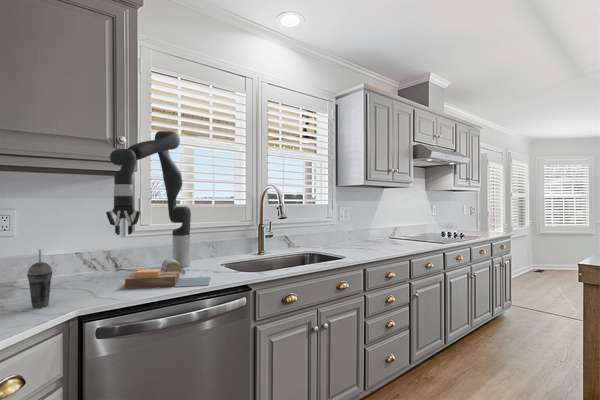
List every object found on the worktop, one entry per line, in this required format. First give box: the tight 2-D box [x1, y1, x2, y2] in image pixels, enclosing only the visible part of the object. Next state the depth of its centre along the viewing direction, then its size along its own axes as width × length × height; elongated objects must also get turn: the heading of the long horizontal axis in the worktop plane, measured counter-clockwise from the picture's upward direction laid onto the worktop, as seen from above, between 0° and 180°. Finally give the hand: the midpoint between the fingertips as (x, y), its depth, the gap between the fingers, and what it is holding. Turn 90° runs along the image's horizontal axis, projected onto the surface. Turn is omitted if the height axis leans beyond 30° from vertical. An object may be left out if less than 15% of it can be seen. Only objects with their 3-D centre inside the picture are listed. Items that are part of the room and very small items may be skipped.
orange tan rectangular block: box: [135, 268, 162, 277], centre depth 154 cm, size 6×9×2 cm, turn 101°
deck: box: [124, 271, 180, 290], centre depth 154 cm, size 12×20×4 cm, turn 101°
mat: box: [173, 276, 211, 288], centre depth 157 cm, size 16×14×1 cm
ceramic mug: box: [161, 257, 187, 274], centre depth 174 cm, size 11×8×8 cm
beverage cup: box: [26, 249, 53, 309], centre depth 123 cm, size 7×7×20 cm
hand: (123, 234), depth 152 cm, fingers open, 4 cm apart
